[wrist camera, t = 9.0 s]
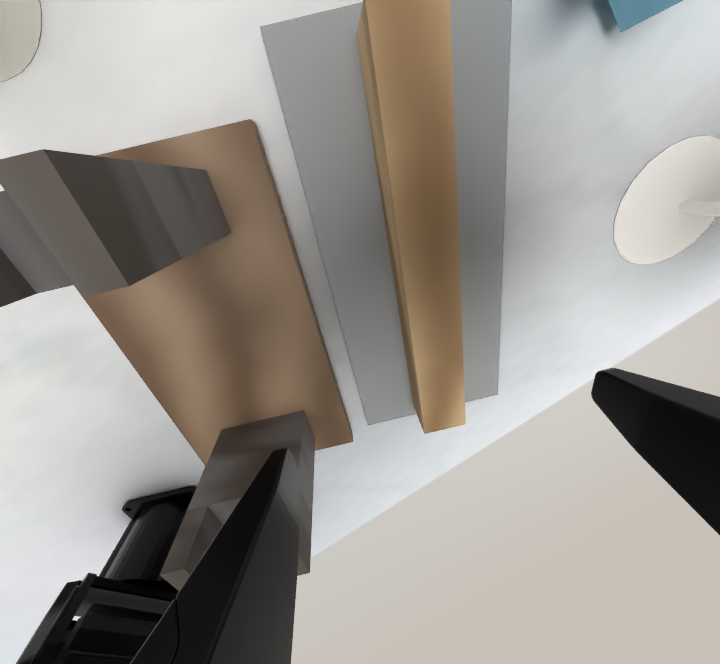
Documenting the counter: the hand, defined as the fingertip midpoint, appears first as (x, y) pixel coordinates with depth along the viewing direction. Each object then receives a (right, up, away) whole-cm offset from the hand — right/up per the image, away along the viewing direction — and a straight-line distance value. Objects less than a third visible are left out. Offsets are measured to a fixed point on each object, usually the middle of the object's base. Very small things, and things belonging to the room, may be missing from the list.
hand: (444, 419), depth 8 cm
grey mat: (+1, +7, +10) cm, 12 cm away
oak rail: (+1, +6, +10) cm, 12 cm away
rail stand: (-11, +2, +11) cm, 16 cm away
